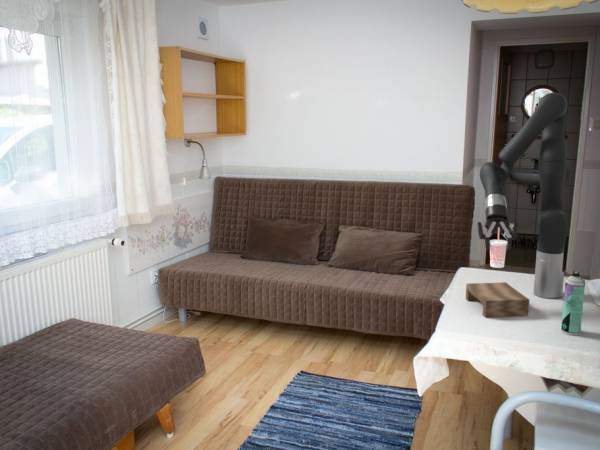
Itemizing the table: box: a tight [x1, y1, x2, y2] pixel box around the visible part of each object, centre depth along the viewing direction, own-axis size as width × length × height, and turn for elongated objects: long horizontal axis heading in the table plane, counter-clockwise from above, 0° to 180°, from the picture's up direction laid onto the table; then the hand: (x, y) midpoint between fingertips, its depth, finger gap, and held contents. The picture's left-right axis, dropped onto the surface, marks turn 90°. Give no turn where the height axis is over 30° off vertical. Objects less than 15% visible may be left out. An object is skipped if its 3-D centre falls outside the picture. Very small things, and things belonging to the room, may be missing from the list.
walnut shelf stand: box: [465, 282, 530, 319], centre depth 198 cm, size 15×19×6 cm
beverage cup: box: [489, 228, 508, 269], centre depth 195 cm, size 6×6×14 cm
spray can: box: [560, 270, 586, 336], centre depth 174 cm, size 6×6×20 cm
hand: (498, 248), depth 193 cm, fingers closed on beverage cup, 6 cm apart
